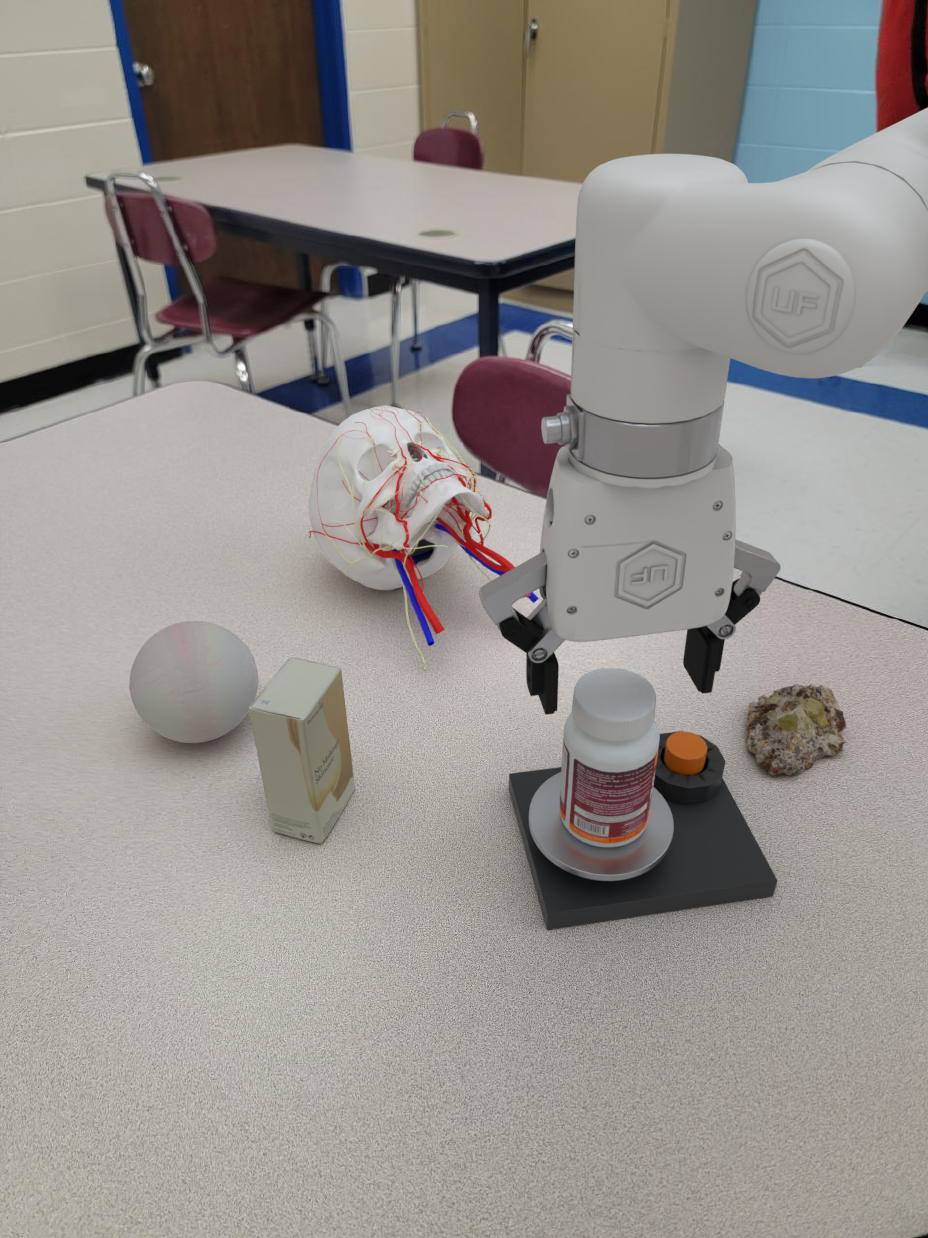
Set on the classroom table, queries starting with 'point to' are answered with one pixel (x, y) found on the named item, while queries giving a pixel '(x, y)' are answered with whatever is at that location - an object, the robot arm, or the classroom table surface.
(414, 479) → the anatomical skull model
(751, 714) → the mineral rock
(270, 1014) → the classroom table surface
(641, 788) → the pill bottle
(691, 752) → the tare button
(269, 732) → the cosmetic box
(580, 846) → the weighing pan
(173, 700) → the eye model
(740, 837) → the scale
